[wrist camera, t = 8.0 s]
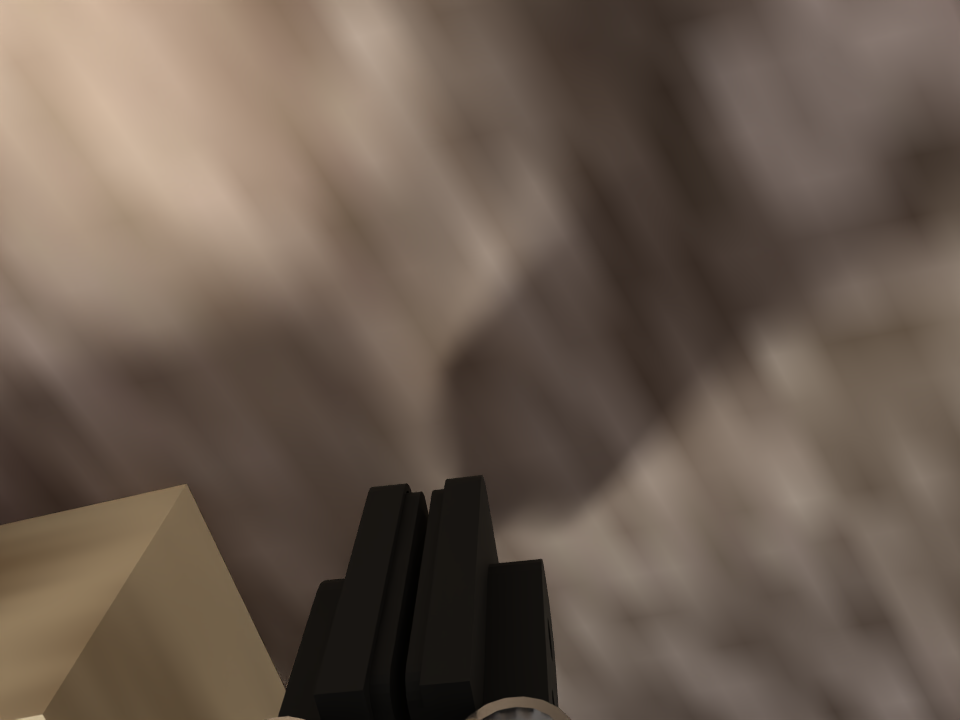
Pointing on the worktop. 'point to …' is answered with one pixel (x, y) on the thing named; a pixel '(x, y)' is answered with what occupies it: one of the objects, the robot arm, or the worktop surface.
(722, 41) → the worktop surface
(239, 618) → the maple block
